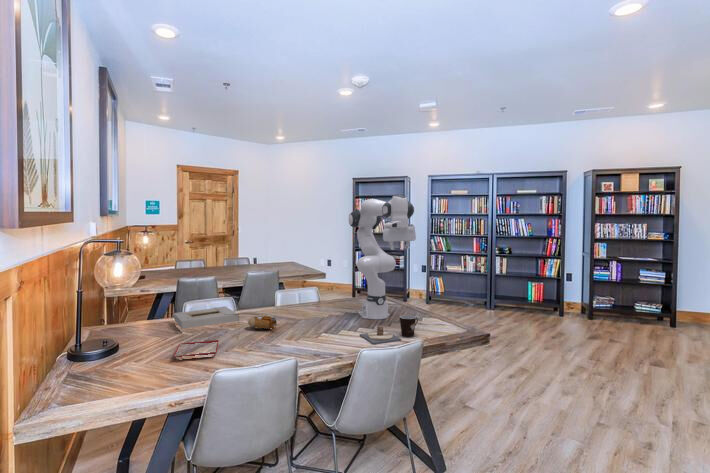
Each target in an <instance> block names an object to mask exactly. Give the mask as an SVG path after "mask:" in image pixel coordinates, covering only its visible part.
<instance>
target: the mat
mask: <svg viewBox="0 0 710 473" xmlns="http://www.w3.org/2000/svg"><path fill="white" fill-rule="evenodd" d="M384 331H385V332H389V333H391V332H390V331H389V330H384ZM368 333H369V332H368ZM368 333H360V334H359V336H360V337H361V338H363V339H364V340H366V341H367V342H369V343H370V344H372V345H381V344H386V343H392V342H393V343H394V342H402V338H400V337H398V336H397V335H395V334H393V338H392V339H389V340H373V339H370V338H368Z"/></svg>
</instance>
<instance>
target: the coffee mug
mask: <svg viewBox="0 0 710 473" xmlns="http://www.w3.org/2000/svg"><path fill="white" fill-rule="evenodd" d="M418 322H419V318H418V317H417V316H415V315H412V314H402V315H399V323H400V333H401V337H403V338H413V337H414V335H415V328H416V325H417V324H418Z"/></svg>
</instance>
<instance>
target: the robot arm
mask: <svg viewBox="0 0 710 473" xmlns="http://www.w3.org/2000/svg"><path fill="white" fill-rule="evenodd" d="M414 213H415V207H414V205H413V203H411V202H410V201H408V198H407V196H406V195H402V194H401V195H400V194H394V195H392V198H391V199H390V200H389V201H385V200H380V199H376V198H369V199H366V200H363V201H362V203H361V204H360V209H358V208H356V209H355V210H354V211H351V212H350V214H349V215H348V223H349V226H350V227H352V228H358V229H357V231H356V237H357V241H358V244H359V247H360V249H361V251H362V253H363V255H364V256H362V257H360V258H358V259H357V262H356V266H357V270H358V271H359V272H360V273H361V274H363V276H364V278H365V280H366V283H367V284H366V285H367V294H366V300H365V301H364V302H363V303H362V304H361V306H360V310H359V311H357V312H358V313H357V314H359V316H360V317H361V318H362V319H369V320H383V319H388V317H389V316H391V313H389V307H388V305H389V304H388V302H387V294H386V282H385V281H384V280H383V279H382V278H379V275H378V274H379V273H389V272H392V271H394V270H395V268H396V266H397V264H396V262H397V261H396V258H394V256H392V255H390V254H388V253H386V252H385V250H383V249H382V248H381V247H380V246H379V243H378V242H377V240H376V238H375V235H374V233H373V230H376V229H377V227H379V225H380V224H381V222H382V216H384V217H385V218H386V219H391V221H388V222H386V223H384V224H383V227H384V228H383V231H382V240H383V241H384V242H387V243H388V244H389V246H390V250H391V251H395V249H396V247H395V246H394V242H405V243H406V244H405V245H404V250H408V249H409V246H410V244H411V241H415V240H416V237H417V235H416V234H417V233H416V227H415V225H414V224H412V223H411V224H409V220H410V219H411V217H412V216H413V215H414Z"/></svg>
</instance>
